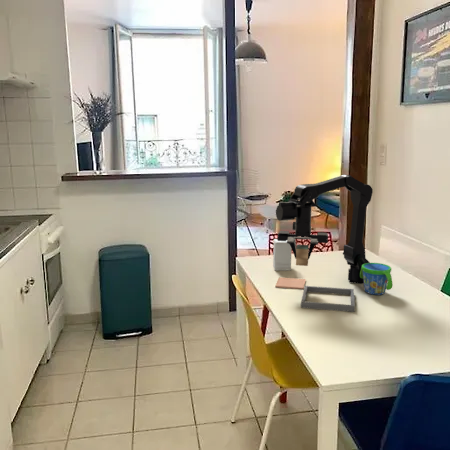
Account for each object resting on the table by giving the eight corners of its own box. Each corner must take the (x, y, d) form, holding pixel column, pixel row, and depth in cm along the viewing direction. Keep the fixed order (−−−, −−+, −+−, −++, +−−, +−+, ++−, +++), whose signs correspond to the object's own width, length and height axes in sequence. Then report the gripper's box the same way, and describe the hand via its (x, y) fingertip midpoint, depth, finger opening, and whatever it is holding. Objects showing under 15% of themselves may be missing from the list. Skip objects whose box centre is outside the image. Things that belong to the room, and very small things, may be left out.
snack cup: (399, 297, 179) (401, 270, 177) (374, 300, 176) (376, 273, 174) (374, 284, 193) (376, 259, 191) (351, 287, 190) (352, 262, 188)
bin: (353, 294, 183) (353, 289, 182) (354, 311, 165) (354, 306, 165) (304, 290, 187) (304, 285, 186) (300, 307, 169) (301, 302, 169)
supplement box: (291, 270, 212) (291, 242, 210) (274, 270, 212) (274, 242, 210) (289, 265, 220) (290, 238, 217) (273, 265, 220) (273, 238, 217)
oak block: (308, 262, 188) (308, 245, 187) (307, 265, 184) (308, 247, 183) (296, 262, 189) (297, 244, 188) (295, 265, 185) (296, 247, 184)
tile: (305, 280, 199) (305, 279, 198) (303, 289, 188) (303, 287, 188) (278, 278, 201) (278, 277, 201) (275, 287, 191) (275, 285, 190)
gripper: (328, 215, 189) (327, 254, 192) (280, 214, 193) (279, 252, 196) (328, 221, 178) (327, 262, 182) (277, 219, 182) (276, 259, 185)
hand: (302, 258), depth 186 cm, fingers closed on oak block, 4 cm apart
